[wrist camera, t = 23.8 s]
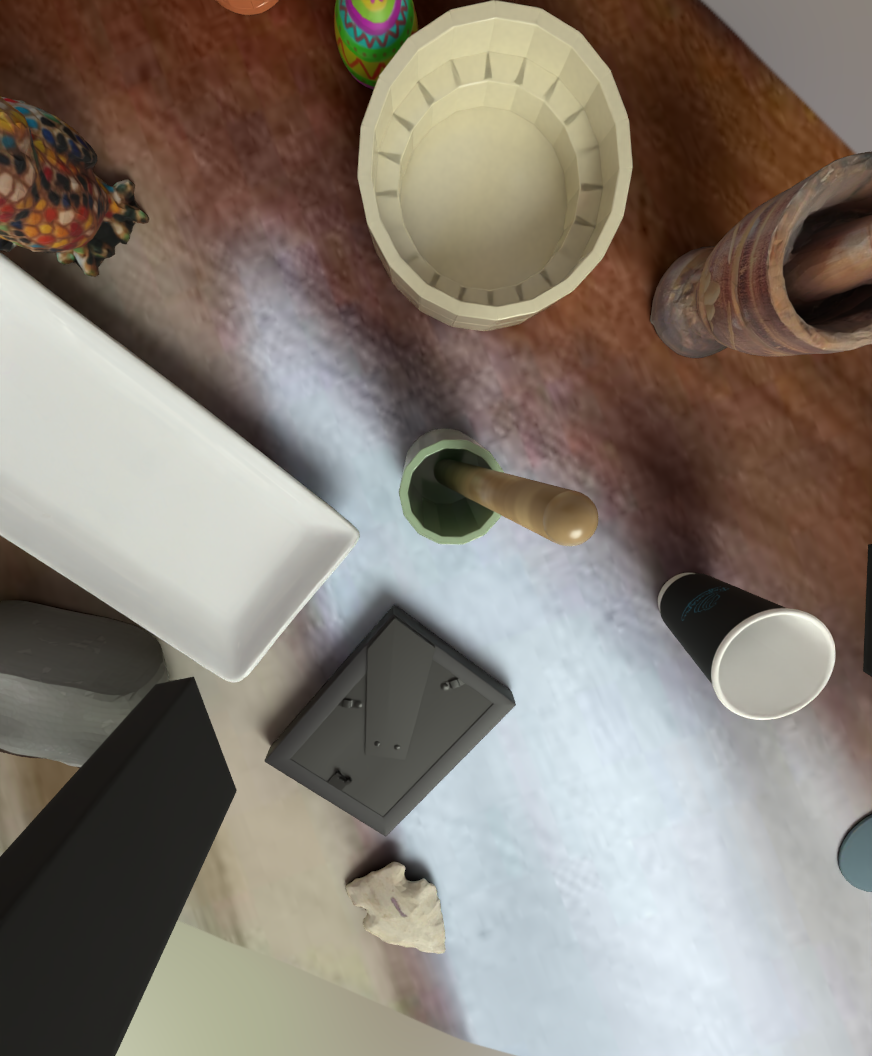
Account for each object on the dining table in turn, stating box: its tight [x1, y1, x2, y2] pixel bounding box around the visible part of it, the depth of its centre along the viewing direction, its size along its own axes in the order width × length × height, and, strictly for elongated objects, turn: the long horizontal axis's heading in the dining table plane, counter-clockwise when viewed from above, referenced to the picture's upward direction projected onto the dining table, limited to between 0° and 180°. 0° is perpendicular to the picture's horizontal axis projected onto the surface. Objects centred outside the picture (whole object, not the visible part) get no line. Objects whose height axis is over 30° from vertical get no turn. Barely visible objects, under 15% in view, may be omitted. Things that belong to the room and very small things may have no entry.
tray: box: [0, 252, 360, 682], centre depth 36 cm, size 17×31×4 cm, turn 50°
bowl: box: [357, 0, 633, 331], centre depth 31 cm, size 16×16×6 cm
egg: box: [334, 0, 418, 90], centre depth 29 cm, size 5×5×6 cm
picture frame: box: [265, 605, 516, 836], centre depth 43 cm, size 13×2×18 cm
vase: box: [399, 428, 504, 544], centre depth 34 cm, size 6×6×10 cm
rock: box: [0, 600, 169, 768], centre depth 38 cm, size 18×11×8 cm, turn 73°
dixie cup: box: [658, 573, 835, 720], centre depth 37 cm, size 8×8×11 cm
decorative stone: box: [346, 861, 445, 954], centre depth 49 cm, size 8×12×3 cm
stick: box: [434, 459, 598, 546], centre depth 27 cm, size 2×2×22 cm
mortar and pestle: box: [650, 152, 872, 358], centre depth 26 cm, size 12×9×20 cm
